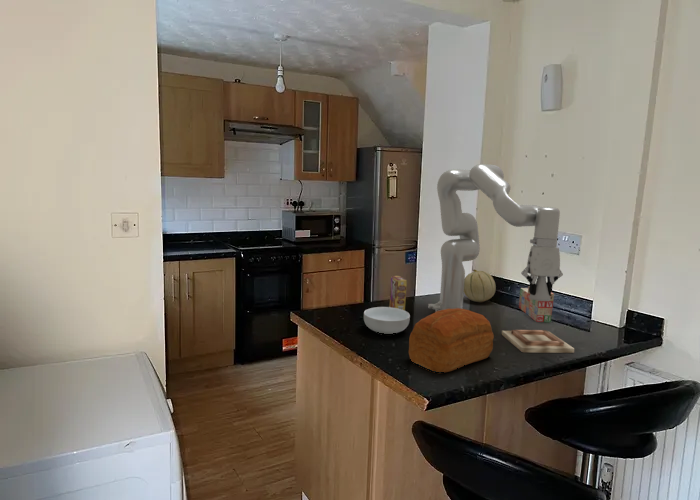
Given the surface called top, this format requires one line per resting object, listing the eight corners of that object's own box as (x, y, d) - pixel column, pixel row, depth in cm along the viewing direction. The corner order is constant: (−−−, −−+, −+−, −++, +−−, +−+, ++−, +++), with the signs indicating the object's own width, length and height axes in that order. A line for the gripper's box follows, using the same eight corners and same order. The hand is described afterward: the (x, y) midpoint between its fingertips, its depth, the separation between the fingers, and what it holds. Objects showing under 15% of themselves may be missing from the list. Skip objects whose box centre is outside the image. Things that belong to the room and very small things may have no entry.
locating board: (522, 352, 162) (522, 344, 161) (501, 334, 179) (502, 327, 179) (574, 352, 163) (574, 345, 163) (548, 335, 181) (549, 328, 180)
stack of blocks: (518, 307, 218) (520, 281, 216) (532, 308, 218) (534, 281, 216) (536, 322, 197) (539, 292, 195) (551, 322, 197) (554, 293, 195)
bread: (497, 358, 156) (501, 310, 153) (443, 378, 139) (447, 325, 137) (456, 343, 168) (460, 299, 166) (402, 360, 151) (405, 311, 149)
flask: (549, 298, 172) (552, 270, 171) (551, 302, 165) (554, 274, 164) (528, 295, 174) (530, 268, 173) (529, 300, 168) (531, 272, 166)
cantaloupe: (495, 307, 217) (497, 274, 215) (461, 304, 221) (464, 271, 218) (493, 299, 232) (495, 268, 229) (461, 296, 235) (464, 266, 233)
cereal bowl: (353, 330, 178) (354, 312, 176) (382, 321, 190) (383, 304, 189) (390, 342, 166) (391, 323, 165) (418, 332, 178) (419, 314, 177)
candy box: (405, 316, 197) (407, 280, 195) (395, 317, 196) (397, 280, 194) (398, 310, 206) (400, 275, 204) (388, 310, 205) (390, 275, 203)
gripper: (526, 244, 162) (521, 296, 165) (574, 245, 164) (568, 297, 167) (516, 241, 170) (512, 291, 173) (562, 242, 171) (557, 292, 174)
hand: (540, 293), depth 170 cm, fingers closed on flask, 4 cm apart
